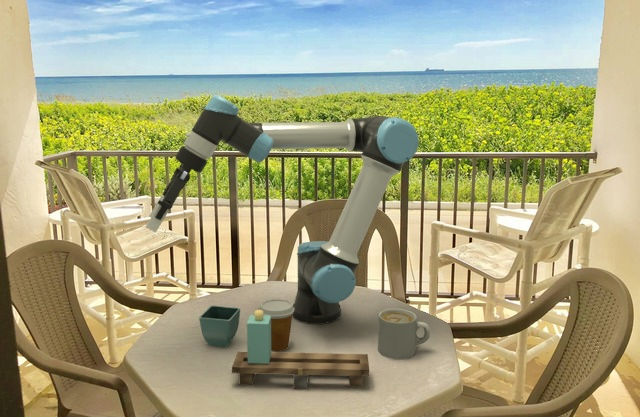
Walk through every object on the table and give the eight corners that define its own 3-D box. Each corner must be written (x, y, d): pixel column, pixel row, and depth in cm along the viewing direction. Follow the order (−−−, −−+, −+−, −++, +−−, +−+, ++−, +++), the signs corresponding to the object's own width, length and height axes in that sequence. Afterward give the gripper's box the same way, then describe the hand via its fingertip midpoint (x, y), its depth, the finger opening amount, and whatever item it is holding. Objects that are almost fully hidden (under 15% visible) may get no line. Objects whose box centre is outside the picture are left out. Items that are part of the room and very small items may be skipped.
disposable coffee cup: (299, 341, 158) (299, 300, 156) (286, 356, 150) (286, 313, 147) (268, 336, 161) (267, 296, 159) (253, 351, 153) (252, 308, 150)
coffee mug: (375, 356, 150) (376, 320, 148) (380, 340, 159) (381, 306, 157) (427, 363, 147) (428, 326, 145) (429, 346, 156) (431, 311, 154)
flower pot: (230, 351, 152) (229, 320, 150) (199, 348, 154) (198, 317, 152) (241, 337, 161) (240, 307, 159) (212, 335, 162) (210, 305, 161)
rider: (247, 368, 135) (246, 315, 132) (251, 358, 140) (249, 307, 137) (269, 369, 135) (268, 315, 132) (271, 359, 140) (270, 307, 137)
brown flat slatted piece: (232, 387, 134) (231, 368, 133) (238, 369, 143) (238, 350, 142) (368, 390, 133) (369, 371, 132) (367, 371, 142) (367, 353, 141)
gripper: (182, 141, 155) (142, 207, 156) (182, 148, 132) (134, 227, 132) (206, 155, 158) (167, 221, 158) (210, 165, 134) (163, 242, 134)
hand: (152, 224), depth 145 cm, fingers open, 13 cm apart
